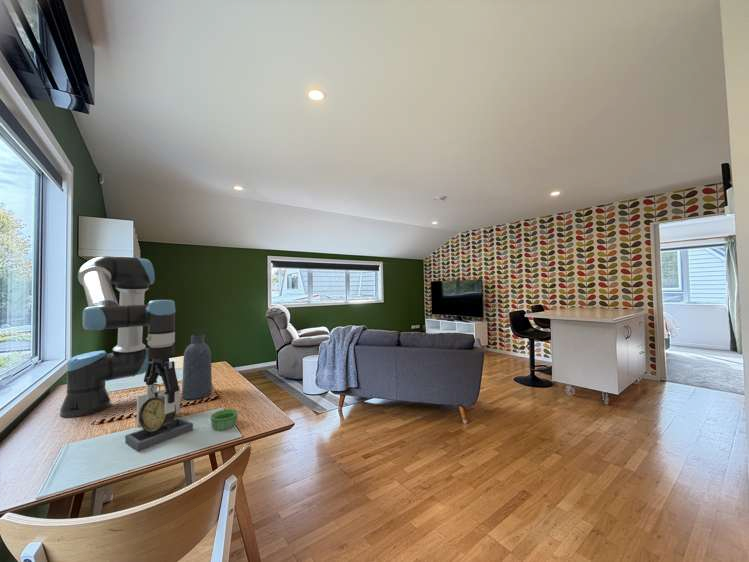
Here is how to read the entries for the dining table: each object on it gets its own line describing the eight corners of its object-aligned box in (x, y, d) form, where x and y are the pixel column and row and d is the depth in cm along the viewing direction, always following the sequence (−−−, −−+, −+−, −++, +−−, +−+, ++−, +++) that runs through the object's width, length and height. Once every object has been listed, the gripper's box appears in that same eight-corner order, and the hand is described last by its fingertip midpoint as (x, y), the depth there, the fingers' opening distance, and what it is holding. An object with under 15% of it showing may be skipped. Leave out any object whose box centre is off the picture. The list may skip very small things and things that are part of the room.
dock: (125, 442, 96) (125, 435, 96) (179, 423, 110) (179, 417, 110) (138, 451, 91) (138, 443, 91) (192, 430, 104) (192, 423, 105)
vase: (190, 391, 145) (190, 333, 145) (216, 390, 146) (216, 333, 147) (176, 401, 133) (176, 337, 133) (204, 399, 134) (205, 337, 135)
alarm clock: (139, 439, 98) (134, 389, 101) (154, 433, 103) (148, 386, 107) (168, 431, 97) (162, 381, 100) (181, 426, 102) (175, 378, 105)
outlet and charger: (136, 425, 108) (137, 395, 109) (178, 412, 120) (178, 384, 121) (150, 433, 102) (150, 401, 103) (193, 418, 114) (193, 389, 114)
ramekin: (228, 418, 114) (228, 407, 114) (243, 423, 110) (243, 411, 110) (205, 428, 106) (205, 415, 107) (219, 434, 102) (220, 421, 102)
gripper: (133, 342, 105) (132, 403, 104) (165, 351, 91) (164, 421, 91) (157, 339, 111) (156, 396, 111) (191, 347, 98) (190, 412, 97)
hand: (160, 407), depth 101 cm, fingers open, 13 cm apart
